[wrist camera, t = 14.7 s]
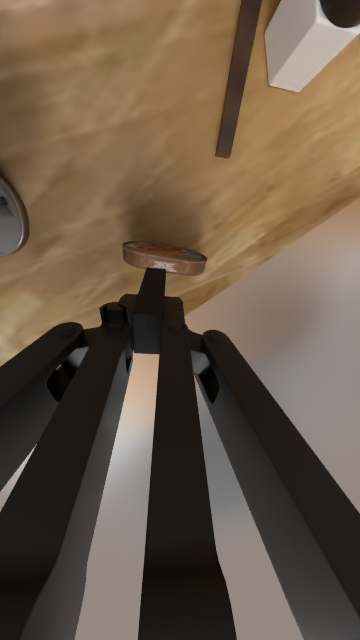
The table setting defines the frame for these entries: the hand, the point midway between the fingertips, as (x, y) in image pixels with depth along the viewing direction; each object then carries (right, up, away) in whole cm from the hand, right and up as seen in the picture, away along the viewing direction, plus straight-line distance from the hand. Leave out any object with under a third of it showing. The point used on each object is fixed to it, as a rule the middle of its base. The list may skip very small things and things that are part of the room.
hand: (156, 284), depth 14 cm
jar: (+17, +33, +8) cm, 38 cm away
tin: (-1, +11, +21) cm, 23 cm away
